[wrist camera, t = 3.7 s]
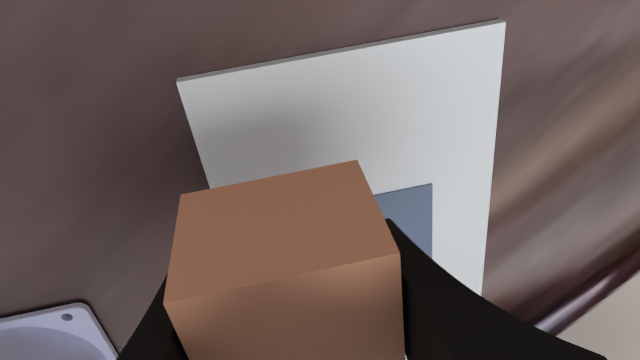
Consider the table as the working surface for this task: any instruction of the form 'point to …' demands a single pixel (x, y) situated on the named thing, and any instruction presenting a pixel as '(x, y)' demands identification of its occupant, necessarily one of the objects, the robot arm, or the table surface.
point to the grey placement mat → (370, 129)
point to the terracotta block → (286, 270)
